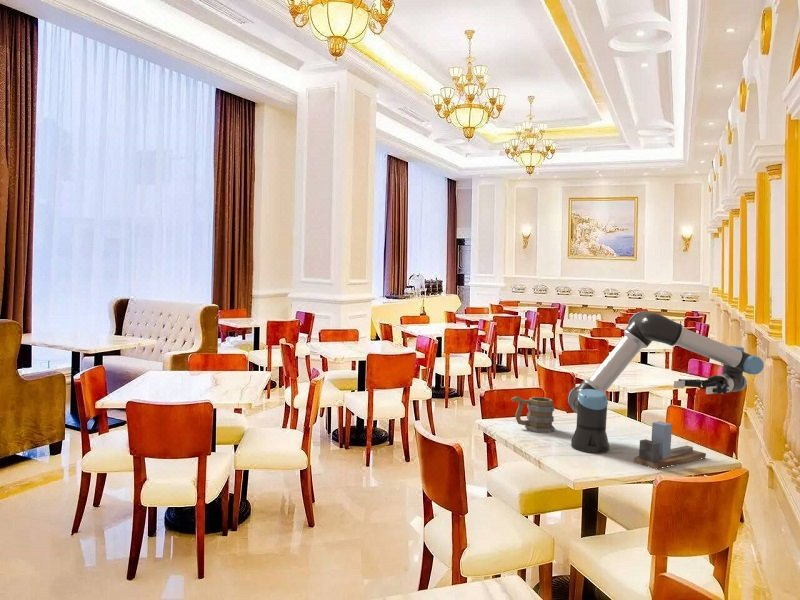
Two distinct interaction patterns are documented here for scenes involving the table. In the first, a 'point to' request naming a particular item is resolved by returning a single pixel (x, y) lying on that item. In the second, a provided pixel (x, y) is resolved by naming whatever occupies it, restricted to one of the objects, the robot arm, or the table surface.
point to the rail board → (678, 456)
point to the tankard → (536, 414)
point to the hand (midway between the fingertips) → (690, 387)
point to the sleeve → (662, 438)
